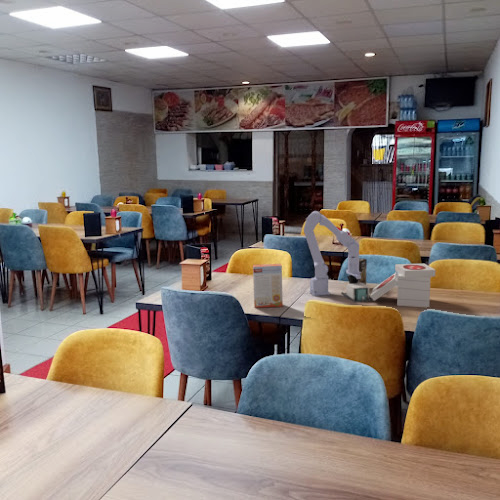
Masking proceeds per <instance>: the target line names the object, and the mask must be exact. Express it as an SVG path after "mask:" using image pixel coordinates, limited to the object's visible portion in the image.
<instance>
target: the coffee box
mask: <svg viewBox="0 0 500 500" xmlns="http://www.w3.org/2000/svg"><path fill="white" fill-rule="evenodd" d="M367 263H368V262H367V258H360V257H359V272H361V274H360V275H361V279H359V280H358V282H357V283H364V284H366V285H367ZM348 284H350V283H349V282H348Z"/></svg>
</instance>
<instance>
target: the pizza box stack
mask: <svg viewBox="0 0 500 500" xmlns="http://www.w3.org/2000/svg"><path fill="white" fill-rule="evenodd" d="M394 266H395V267H394V271H395V273H393V274H391V275H390V276H388V277H387V278H386V279H384V280H383V281H382V282H380V283H379V284H378V285H376V286H375V287H373V289H372V290H371V293H370V294H369V297H371V298H372V299H373V301H374V302H375V301H376V300H378V299H379V298H381V297H382V296H383V295H385V294H386V293H388V292H389V291H390V290H392V289H393V288H395V287H396V286H397V295H396V296H397V297H396V299H397V301H396V305H397V306H399V307H400V306H401V307H414V308H415V307H416V308H427V307H429V308H430V302H431V301H430V298H431V297H430V295H431V278H433V277H436V269H435V268H433V267H431V266H430V265H428V264H426V263H403V264H402V263H399V264H397V263H396V264H395V265H394Z"/></svg>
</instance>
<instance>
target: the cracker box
mask: <svg viewBox="0 0 500 500" xmlns="http://www.w3.org/2000/svg"><path fill="white" fill-rule="evenodd" d="M252 275H253V277H252V279H253V282H252V283H253V305H254V308H255V309H257V308H259V309H260V308H261V309H262V308H282V307H283V306H284V305H283V300H284V299H283V266H282V264H281V263H263V264H262V263H261V264H253V265H252Z"/></svg>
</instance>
